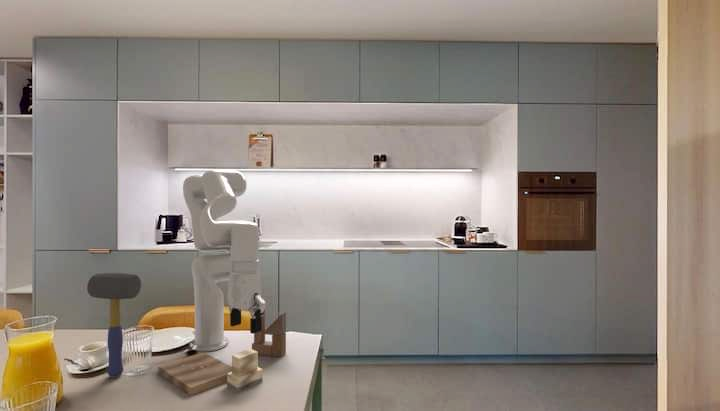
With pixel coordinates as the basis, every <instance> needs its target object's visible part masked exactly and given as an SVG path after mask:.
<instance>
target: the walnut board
mask: <svg viewBox="0 0 720 411" xmlns="http://www.w3.org/2000/svg"><path fill="white" fill-rule="evenodd" d="M157 371H158V374H159V375H161V377H164V378H165V379H166V380H168V381H169V382H170V383H172V384H174V385H175V386H176V387H178V388H179V389H180V390H182V391H184V392H185V393H187V394H188V395H189V396H193V395H195V394H198V393H201V392H203V391H206V390H208V389H212V388H213V387H214V388H215V387H216V386H219V385H221V384H223V383H227V373H230V372H232V365H229V364H227V363H225V362H223V361H221V360H219V359H218V358H216V357H214V356H212V355H210V354H208V353H205V351H203V352H200V353H196V354H193V355H191V356H186V357H184V358H180V359H177V360H174V361H171V362H167V363H164V364H160V365H158V367H157Z"/></svg>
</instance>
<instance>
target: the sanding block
mask: <svg viewBox="0 0 720 411" xmlns="http://www.w3.org/2000/svg"><path fill="white" fill-rule="evenodd" d="M258 359H259V355H258V352H257V351H255V350H252V348H248V349H245V350H243V351H240V352H236V353H234V354H231V367H232V372H230V373H227V382H226V386H227V388H229V389H230V390H233V391H234V392H236V393H239V392H241V391H243V390H246V389H249V388H250V387H253V386H255V385H258V384H260V383H263V368H261V367H259V365H258V364H259V360H258Z"/></svg>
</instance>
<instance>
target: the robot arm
mask: <svg viewBox="0 0 720 411" xmlns="http://www.w3.org/2000/svg"><path fill="white" fill-rule="evenodd" d="M246 190H247V179H246V177H245V176H244V174H243V173H242V172H241V171H238V170H227V169H226V170H224V169H223V170H222V169H212V170H211V169H210V170H208V171H205V172H204V173H203V174H198V175H190V176H187V177H186V178H185V179H184V181H183V184H182V192H183V198H184V201H185V204H186V206H187V209H188V210H189V214H190V217H191V229H192V238H193V244H194V245H193V246H194V248H195V249H196V251H198V252H203V253H205V252H206V253H208V252H209V253H210V252H220V251H221V252H222V251H223V252H224V251H225V252H226V253H218V254H217V253H214V254H205V255H201V256H198V257H196V258H194V259H193V261H192V262H191V274H192V280H193V289H194V292H193V293H194V331H193V332H192V334H193V336H194V340H195V345H197V347H196V348H197V351H196V352H200V353H202V352H211V351H212V352H213V351H217V350H220V349H222V348H225V347H227V346H228V344H229V338H228V337H227V336H225V330H224V329H225V327H224V326H225V318H224V317H225V315H224V314H225V310H224V309H225V308H224V307H225V305H224V302H225V300H224V299H225V296H224V292H223V290H222V288H221V287H219V286H218V285H217V283H218V282H225V281H228V289H227V294H226V300H227V304H228V306H229V308H228V311H229V313H230V314H229V315H230V316H229V318H230V319H229V320H230V321H229V322H230V327H235V326H239V325H241V324H242V311H243V312H248V311H249V313H250V316H251V318H250V319H249V321H250V322H249V324H250V325H249V326H250V328H249V329H250V334H253V335H254V333H257V332H260V331H261V330H262V316H263V313H264V311H265V312H266V306H267V302H266V300H265V301H264V300H263V299H264V298H262V284H261V276H260V242H259V241H260V240H259V239H260V238H259V236H260V235H259V234H260V230H259V229H260V228H259V227H260V226H259V225H258V224H257V223H256V222H252V221H248V220H218V219H219V218H221V217H223V216H225V215H228V214H230V213H231V212H232V211H234V209H235V208H236V207H237V204H238V203H237V200H238V199H237V198H238V197H241V196H242V195H243V194H245V192H246ZM254 310H257V311H256V312H254ZM192 346H194V344H192V343H191V342H190V343H189V348H190V347H192Z"/></svg>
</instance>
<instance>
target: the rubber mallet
mask: <svg viewBox="0 0 720 411" xmlns="http://www.w3.org/2000/svg"><path fill="white" fill-rule="evenodd" d="M141 288H142V280H141V278H140V276H139V275H137V274H135V273H134V274H133V273H123V272H107V273H106V272H105V273H102V272H101V273H95V274H93V275H92V276H91V277H90V279H89V280H88V282H87V286H86V289H87V293H88V295H89V296H91V298H95V299H103V300H109V326H108V327H109V328H108V330H107V331H108V332H107V349H108V350H107V351H108V367H107V369H106V370H107V375H108V376H109V378H118V377H120V376H122V374H123V372H124V365H123V354H122V353H123V345H124V339H123V338H124V337H123V328H122V325H121V300H132V299H134V298H136V297H137V296H138V295H139V293H140V292H141V290H142V289H141Z"/></svg>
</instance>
